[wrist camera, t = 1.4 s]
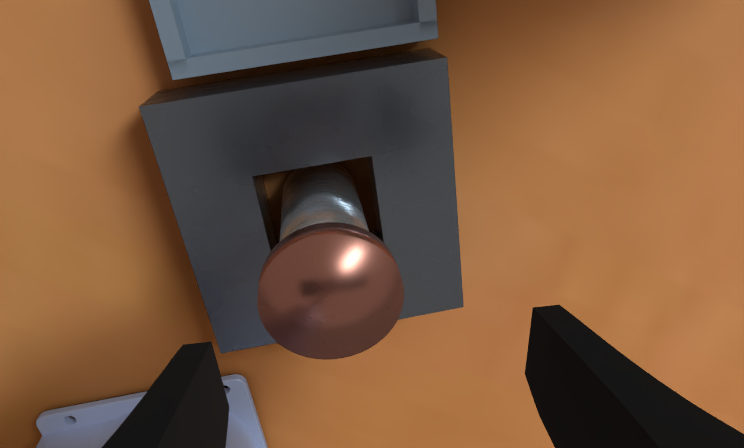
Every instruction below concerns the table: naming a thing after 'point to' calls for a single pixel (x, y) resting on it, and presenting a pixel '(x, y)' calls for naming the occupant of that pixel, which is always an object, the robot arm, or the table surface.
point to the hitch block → (304, 149)
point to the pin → (327, 270)
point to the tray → (282, 30)
